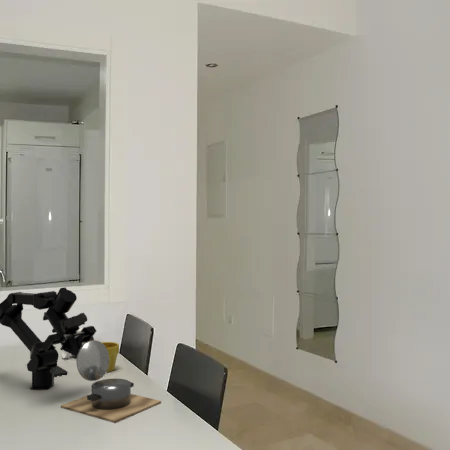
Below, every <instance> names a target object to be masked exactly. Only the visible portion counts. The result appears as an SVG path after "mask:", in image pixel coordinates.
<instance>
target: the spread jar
mask: <svg viewBox="0 0 450 450" xmlns="http://www.w3.org/2000/svg"><path fill="white" fill-rule="evenodd" d="M79 328H80V329H79V330H78V331H77V333H79V332H81V330H82V329H83V327H79ZM93 340H95V338H94V336H93V337H92V338H91V339H90V340H89V341H93ZM84 343H86V342H84ZM84 343H82V345H83V344H84ZM61 351H62V352H61V357H62V359H66V360H67V359H69V357H70V356H72V357H73V359H76V360H77V357H76V356H74V355H72V354H70V353H68V352H66V351H64V350H61Z"/></svg>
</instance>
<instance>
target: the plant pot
mask: <svg viewBox="0 0 450 450" xmlns="http://www.w3.org/2000/svg"><path fill="white" fill-rule="evenodd" d="M100 342H101V343H103V344H104V345H105V347H106V348H107V351H108V354H109V366H108V369H107V371H106V373H109V372H113V371H114V370H115V369H116V364H117V363H116V362H117V357H118V354H119V353H120V345H119V343H118V342H114V341H100Z"/></svg>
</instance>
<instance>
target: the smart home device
mask: <svg viewBox="0 0 450 450" xmlns="http://www.w3.org/2000/svg"><path fill="white" fill-rule="evenodd" d="M52 372H54V378H58V377H57V376H59V377H63V376H62V375H65V376H67V374H68V373H69V372H68V370H66V369H64V368H62V367H60V366H59V365H57V366H56V367H55V368H52Z"/></svg>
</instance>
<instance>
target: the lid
mask: <svg viewBox="0 0 450 450" xmlns="http://www.w3.org/2000/svg"><path fill="white" fill-rule="evenodd" d="M101 342H102V341H99V340H95V339H94V340H93V341H88V342H86V343H84V344H83V345H82V346H81V348H80V349H79V351H78V354H77V359H76V367H77V372H78V373H79V375H80V377H81V378H83V379H84V380H86V381H90V382H92V381H93V382H94V381H95V382H97V381H100V379H102V378H103V377H104V376H105V375H106V373H107V372H106V371H107V369H108V366H109V354H108V351H107V348H106V347H105V345H104V344H103V343H101Z"/></svg>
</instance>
